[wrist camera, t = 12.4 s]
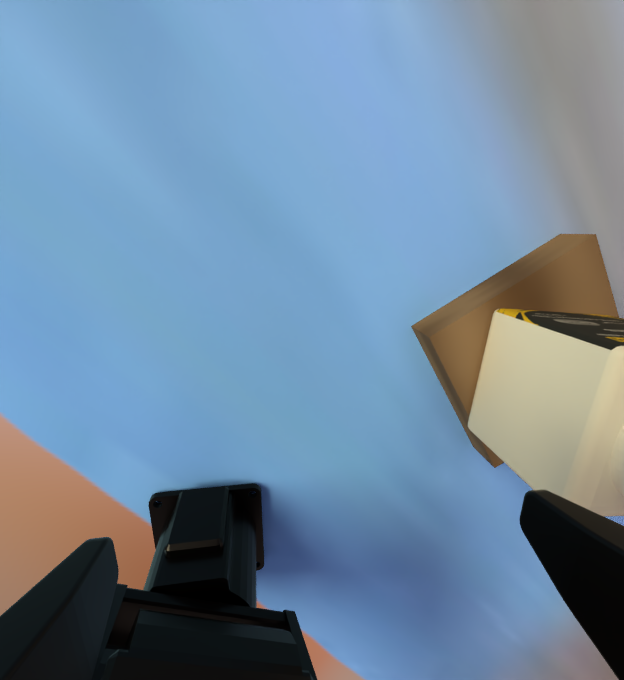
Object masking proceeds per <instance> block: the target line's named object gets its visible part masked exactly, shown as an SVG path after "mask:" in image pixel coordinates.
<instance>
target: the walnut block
mask: <svg viewBox="0 0 624 680" xmlns="http://www.w3.org/2000/svg"><path fill="white" fill-rule="evenodd" d="M501 308H504V309H519V310H535V311H550V312H566V313H581V314H596V315H610V316H614V317H618V318H619V316H618V312H617V308H616V305H615V301H614V298H613V294H612V291H611V287H610V283H609V280H608V276H607V273H606V269H605V266H604V262H603V258H602V255H601V251H600V248H599V244H598V240H597V237H596V234H560V235H558V236H556V237H555V238H553V239H551V240H550V241H548V242H547V243H545V244H543V245H542V246H540V247H539V248H537V249H535V250H534V251H532V252H530V253H529V254H527V255H526V256H524V257H522V258H521V259H519V260H518V261H516V262H514V263H513V264H511V265H509V266H508V267H506V268H505V269H503V270H501V271H500V272H498V273H496V274H495V275H493V276H492V277H490V278H488V279H487V280H485V281H484V282H482V283H480V284H479V285H477V286H475V287H474V288H472V289H471V290H469V291H467V292H466V293H464V294H463V295H461V296H459V297H458V298H456V299H454V300H453V301H451V302H450V303H448V304H446V305H445V306H443V307H442V308H440V309H438V310H437V311H435V312H433V313H432V314H430V315H429V316H427V317H425V318H424V319H422V320H421V321H419V322H417V323H416V324H414V325H412V326H411V327H412V329H413V331H414V333H415V335H416V337H417V338H418V340H419V342H420V344H421V346H422V348H423V350H424V352H425V354H426V356H427V358H428V360H429V362H430V364H431V366H432V368H433V369H434V371H435V373H436V375H437V377H438V379H439V381H440V383H441V385H442V387H443V389H444V391H445V393H446V395H447V397H448V399H449V401H450V402H451V404H452V406H453V408H454V410H455V412H456V414H457V416H458V418H459V420H460V422H461V424H462V426H463V428H464V430H465V432H466V433H467V435H468V437H469V439H470V441H471V443H472V445H473V447H474V448H475V449H476V450H477V451H478V452H479V453H480V454H481V455H482V456H483V457H484V458H485V459H486V460H487V461H488V462H489V463H490V464H491V465H492V466H493V467H494V468H495V467H497V466H499V465H500V464H502V463H504V462H503V461H502V460H501V459H500V458H499V457H498V456H497V455H496V454H495V453H494V452H493V451H492V450H491V449H490V448H488V447H487V446H486V445H485V444H484V443H483V442H482V441H481V440H480V439H479V438H478V437H477V436H476V435H475V434H474V433H472V432H471V431H470V429H469V428H468V420H469V415H470V411H471V407H472V402H473V398H474V394H475V390H476V385H477V381H478V377H479V372H480V368H481V364H482V359H483V355H484V351H485V346H486V342H487V338H488V333H489V329H490V325H491V321H492V316H493V313H494V311H495V310H497V309H501Z"/></svg>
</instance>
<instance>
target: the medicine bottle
mask: <svg viewBox="0 0 624 680" xmlns="http://www.w3.org/2000/svg"><path fill="white" fill-rule="evenodd" d="M468 428H469V429H470V431H471V432H472V433H474V434H475V435H476V436H477V437H478V438H479V439H480V440H481V441H482V442H483V443H484V444H485V445H486V446H487V447H488V448H490V449H491V450H492V451H493V452H494V453H495V454H496V455H497V456H498V457H499V458H500V459H501V460H502V461H503V462H504V463H505V464H507V465H508V466H509V467H510V468H511V469H512V470H513V471H514V472H515V473H516V474H517V475H518V476H519V477H520V478H521V479H522V480H524V481H525V482H526V483H527V484H528V485H529V486H530V487H531V488H532V489H533V490H540V489H544V490H548V491H550V492H552V493H554V494H556V495H559V496H561V497H563V498H565V499H567V500H569V501H571V502H573V503H576V504H578V505H580V506H582V507H584V508H586V509H588V510H591V511H593V512H595V513H597V514H599V515H601V516H624V319H622V318H618V317H614V316H610V315H596V314H581V313H566V312H550V311H535V310H519V309H504V308H501V309H497V310H495V311H494V313H493V316H492V321H491V325H490V329H489V333H488V338H487V342H486V346H485V351H484V355H483V359H482V364H481V368H480V372H479V377H478V381H477V385H476V390H475V394H474V398H473V402H472V407H471V411H470V415H469V420H468Z"/></svg>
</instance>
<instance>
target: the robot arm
mask: <svg viewBox="0 0 624 680" xmlns="http://www.w3.org/2000/svg"><path fill="white" fill-rule="evenodd" d="M251 491H255V492H256V493H254V494H251V493H250V492H251ZM156 501H160V502H162V503H157V502H156ZM149 511H150V517H151V523H152V530H153V536H154V542H155V548H156V551H155V554H154V557H153V561H152V564H151V567H150V570H149V573H148V577H147V580H146V583H145V586H144V590H138V589H132V588H127V585H123V584H117V580H118V564H117V560H116V554H115V549H114V544H113V541H112V539H111V538H109V537H103V538H94V539H89V540H87V541H85V542H84V543H83V544H82V545H80V546H79V547H78V548H77V549H76V550H75V551H74V552H72V553H71V554H70V555H69V556H68V557H67V558H66V559H65V560H63V561H62V562H61V563H60V564H59V565H58V566H57V567H55V568H54V569H53V570H52V571H51V572H50V573H49V574H48V575H46V576H45V577H44V578H43V579H42V580H41V581H40V582H38V583H37V584H36V585H35V586H34V587H33V588H32V589H31V590H29V591H28V592H27V593H26V594H25V595H24V596H23V597H21V598H20V599H19V600H18V601H17V602H16V603H15V604H14V605H13V606H11V607H10V608H9V609H8V610H7V611H6V612H5V613H3V614H2V615H1V616H0V680H317V678H316V674H315V671H314V668H313V665H312V662H311V659H310V656H309V653H308V650H307V647H306V644H305V641H304V638H303V635H302V632H301V629H300V626H299V623H298V620H297V617H296V614H295V612H294V611H289V610H284V611H283V612H280V611H274V610H267V609H261V608H256V571H257V570H260V569H262V568H263V566H264V547H263V525H262V503H261V488H260V486H259V485H257V484H253V483H252V484H241V485H231V486H221V487H210V488H200V489H190V490H179V491H169V492H158V493H155V494H153V495H152V497H151V498H150V501H149ZM520 525H521V528H522V531H523V533H524V534H525V536H526V538H527V539H528V541H529V543H530V545H531V546H532V548H533V550H534V551H535V553H536V555H537V556H538V558H539V560H540V561H541V563H542V565H543V567H544V568H545V570H546V572H547V573H548V575H549V577H550V578H551V580H552V582H553V584H554V585H555V587H556V589H557V590H558V592H559V593H560V595H561V597H562V598H563V600H564V601H565V603H566V604H567V606H568V607H569V609H570V610H571V612H572V613H573V615H574V616H575V618H576V619H577V621H578V622H579V623H580V625H581V626H582V628H583V629H584V631H585V632H586V633H587V635H588V636H589V638H590V639H591V641H592V642H593V643H594V645H595V646H596V648H597V649H598V651H599V652H600V653H601V655H602V656H603V658H604V659H605V661H606V662H607V663H608V665H609V666H610V668H611V669H612V671H613V672H614V674H615V675H616V676H617V678H618V679H619V680H624V526H623V525H620V524H618V523H616V522H614V521H612V520H610V519H608V518H605V517H603V516H601V515H599V514H597V513H595V512H593V511H591V510H588V509H586V508H584V507H582V506H580V505H578V504H576V503H573V502H571V501H569V500H567V499H565V498H563V497H561V496H559V495H556V494H554V493H552V492H550V491H548V490H544V489H540V490H531V491H528V492H527V493H526V494H525V496H524V501H523V505H522V510H521V515H520Z"/></svg>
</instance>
